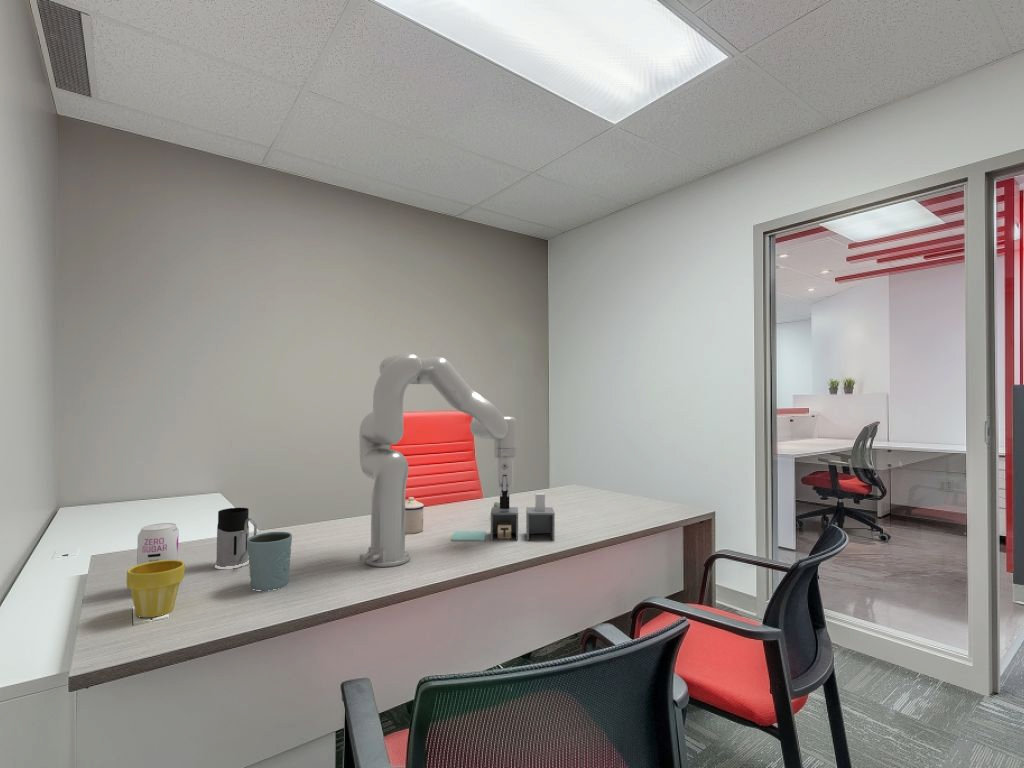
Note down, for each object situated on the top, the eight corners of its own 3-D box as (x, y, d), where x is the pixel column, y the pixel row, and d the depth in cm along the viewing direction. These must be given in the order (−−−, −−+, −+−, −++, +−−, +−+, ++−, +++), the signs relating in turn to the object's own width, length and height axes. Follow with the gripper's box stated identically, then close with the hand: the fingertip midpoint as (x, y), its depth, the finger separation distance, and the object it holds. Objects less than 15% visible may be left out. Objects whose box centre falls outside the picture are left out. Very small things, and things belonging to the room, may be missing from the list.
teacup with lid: (428, 531, 180) (428, 498, 180) (404, 535, 174) (405, 501, 175) (412, 524, 189) (412, 492, 190) (389, 528, 184) (389, 495, 184)
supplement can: (170, 580, 131) (171, 520, 131) (182, 587, 126) (183, 526, 126) (131, 589, 125) (133, 526, 125) (142, 597, 119) (144, 532, 120)
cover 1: (518, 540, 169) (518, 496, 169) (490, 540, 169) (490, 496, 169) (517, 533, 178) (517, 491, 178) (491, 533, 178) (491, 491, 178)
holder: (237, 557, 149) (238, 505, 150) (269, 565, 143) (270, 511, 143) (207, 566, 142) (208, 511, 142) (239, 575, 135) (241, 517, 135)
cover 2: (554, 540, 169) (554, 496, 170) (527, 540, 169) (527, 496, 169) (552, 533, 178) (552, 491, 178) (526, 533, 178) (526, 491, 178)
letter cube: (511, 539, 171) (511, 525, 171) (497, 539, 171) (497, 525, 171) (511, 535, 176) (511, 522, 176) (497, 535, 176) (498, 522, 176)
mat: (484, 541, 168) (484, 539, 168) (450, 541, 168) (450, 539, 168) (486, 532, 179) (486, 530, 179) (454, 532, 179) (454, 530, 179)
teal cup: (297, 585, 127) (298, 537, 128) (253, 596, 121) (254, 544, 121) (282, 575, 135) (283, 529, 135) (240, 584, 128) (241, 536, 128)
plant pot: (175, 598, 119) (176, 556, 119) (190, 611, 112) (191, 565, 112) (120, 612, 111) (121, 566, 111) (132, 626, 104) (134, 578, 105)
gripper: (516, 455, 166) (516, 512, 166) (515, 450, 183) (515, 502, 182) (493, 455, 166) (492, 512, 166) (494, 450, 183) (494, 502, 182)
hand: (504, 506), depth 174 cm, fingers open, 3 cm apart
